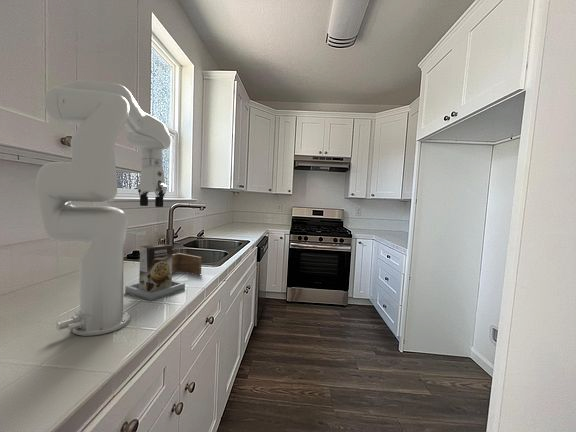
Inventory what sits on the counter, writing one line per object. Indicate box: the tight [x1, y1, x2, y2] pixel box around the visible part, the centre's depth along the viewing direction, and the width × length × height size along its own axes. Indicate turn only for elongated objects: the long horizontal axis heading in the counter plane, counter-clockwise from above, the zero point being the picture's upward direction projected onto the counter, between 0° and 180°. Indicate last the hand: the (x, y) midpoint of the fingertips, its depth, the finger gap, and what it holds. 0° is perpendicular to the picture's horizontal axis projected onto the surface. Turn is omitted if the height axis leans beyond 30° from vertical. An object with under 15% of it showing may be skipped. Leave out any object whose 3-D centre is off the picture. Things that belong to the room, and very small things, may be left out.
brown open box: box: [172, 252, 203, 276], centre depth 117 cm, size 17×14×8 cm
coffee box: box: [138, 243, 173, 293], centre depth 98 cm, size 9×6×16 cm
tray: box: [124, 279, 186, 302], centre depth 99 cm, size 14×14×2 cm
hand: (151, 206), depth 111 cm, fingers open, 9 cm apart
